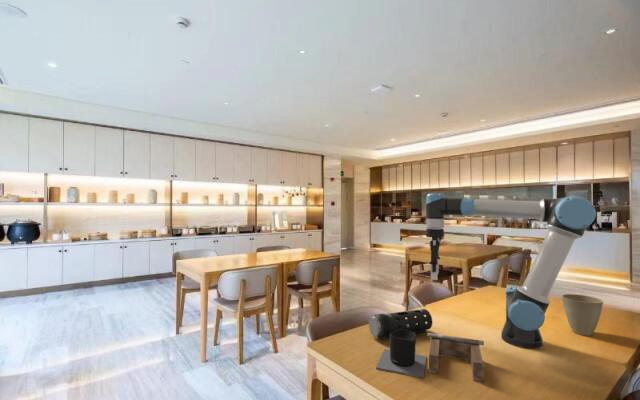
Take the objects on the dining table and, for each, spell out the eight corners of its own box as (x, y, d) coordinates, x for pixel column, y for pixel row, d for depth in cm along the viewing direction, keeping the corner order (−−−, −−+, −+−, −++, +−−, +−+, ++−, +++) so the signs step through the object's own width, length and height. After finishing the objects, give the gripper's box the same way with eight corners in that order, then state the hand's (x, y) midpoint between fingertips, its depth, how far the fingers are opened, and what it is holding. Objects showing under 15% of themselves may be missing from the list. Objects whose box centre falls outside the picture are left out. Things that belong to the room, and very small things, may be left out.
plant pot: (604, 332, 152) (603, 298, 152) (602, 342, 141) (602, 304, 142) (564, 324, 162) (564, 291, 163) (559, 332, 152) (559, 298, 152)
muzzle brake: (433, 335, 148) (433, 311, 148) (379, 344, 138) (379, 319, 138) (419, 327, 157) (419, 305, 157) (367, 335, 147) (367, 312, 147)
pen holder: (387, 355, 126) (387, 328, 126) (412, 355, 126) (412, 329, 126) (391, 367, 116) (392, 339, 117) (418, 368, 116) (418, 339, 116)
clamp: (483, 360, 124) (483, 340, 124) (488, 383, 108) (488, 359, 108) (427, 351, 131) (427, 332, 131) (424, 371, 115) (424, 349, 115)
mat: (426, 357, 125) (426, 356, 125) (423, 378, 111) (423, 376, 111) (384, 350, 131) (384, 348, 131) (376, 369, 116) (376, 367, 116)
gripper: (427, 226, 159) (427, 270, 158) (424, 229, 136) (423, 281, 135) (444, 226, 156) (444, 271, 156) (443, 230, 133) (443, 283, 132)
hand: (434, 276), depth 145 cm, fingers open, 13 cm apart
